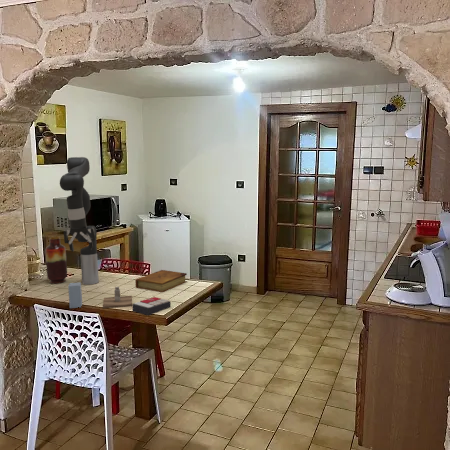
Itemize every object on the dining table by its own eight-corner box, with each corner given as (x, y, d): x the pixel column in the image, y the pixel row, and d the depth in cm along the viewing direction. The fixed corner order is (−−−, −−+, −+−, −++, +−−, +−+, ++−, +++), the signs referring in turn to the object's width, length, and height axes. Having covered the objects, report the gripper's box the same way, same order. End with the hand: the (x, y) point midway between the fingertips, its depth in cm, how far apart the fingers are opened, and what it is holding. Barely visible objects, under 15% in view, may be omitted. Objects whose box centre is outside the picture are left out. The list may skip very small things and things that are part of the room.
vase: (71, 279, 275) (68, 236, 271) (60, 284, 265) (57, 240, 261) (55, 278, 278) (52, 235, 274) (43, 283, 267) (40, 239, 263)
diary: (161, 279, 277) (160, 269, 276) (186, 283, 268) (186, 273, 267) (135, 288, 257) (135, 278, 256) (162, 293, 248) (162, 282, 247)
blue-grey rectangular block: (70, 304, 229) (69, 283, 227) (82, 303, 230) (80, 282, 228) (69, 308, 224) (68, 286, 222) (81, 307, 225) (79, 285, 223)
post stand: (103, 299, 236) (103, 284, 235) (131, 297, 239) (131, 282, 238) (102, 308, 223) (101, 292, 222) (132, 306, 226) (131, 290, 225)
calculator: (171, 300, 224) (148, 306, 212) (170, 308, 225) (148, 315, 213) (154, 296, 231) (132, 302, 218) (154, 304, 231) (132, 311, 219)
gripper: (93, 214, 222) (98, 246, 225) (63, 217, 220) (68, 249, 224) (91, 217, 214) (95, 251, 218) (59, 220, 213) (64, 254, 217)
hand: (81, 250), depth 221 cm, fingers open, 8 cm apart
